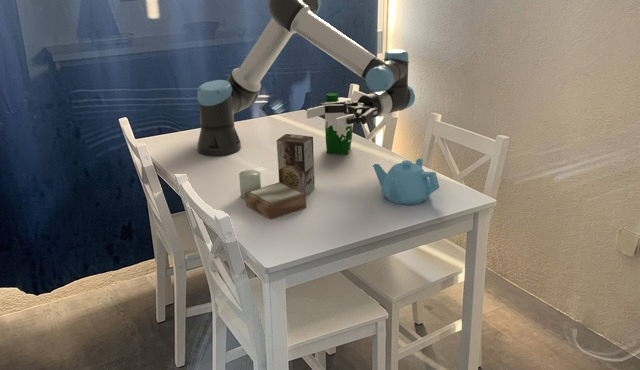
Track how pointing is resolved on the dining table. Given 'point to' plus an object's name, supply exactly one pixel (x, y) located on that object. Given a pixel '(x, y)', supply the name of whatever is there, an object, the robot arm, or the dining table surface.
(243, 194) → the sage rounded cylinder
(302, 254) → the dining table surface
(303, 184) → the coffee box
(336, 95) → the milk carton
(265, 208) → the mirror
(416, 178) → the teapot
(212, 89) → the robot arm
